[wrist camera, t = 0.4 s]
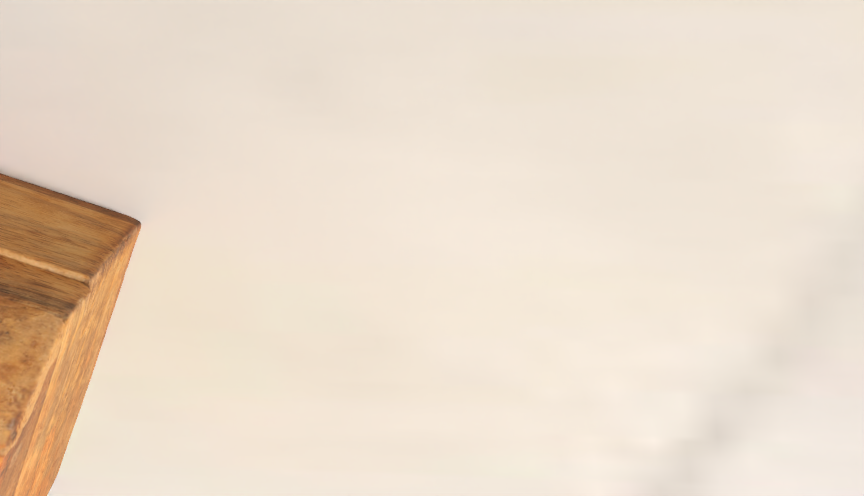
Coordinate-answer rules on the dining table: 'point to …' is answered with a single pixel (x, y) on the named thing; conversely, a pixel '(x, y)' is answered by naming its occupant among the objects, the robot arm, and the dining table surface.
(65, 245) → the wooden box
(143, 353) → the dining table surface
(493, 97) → the dining table surface
